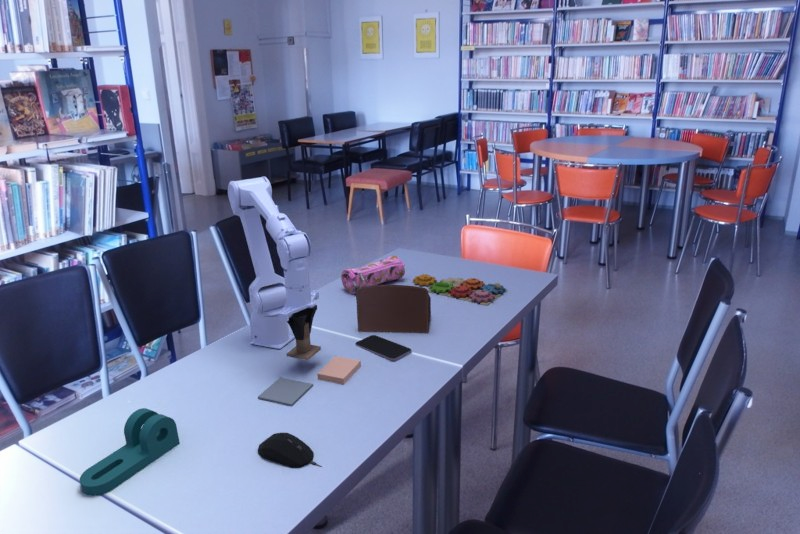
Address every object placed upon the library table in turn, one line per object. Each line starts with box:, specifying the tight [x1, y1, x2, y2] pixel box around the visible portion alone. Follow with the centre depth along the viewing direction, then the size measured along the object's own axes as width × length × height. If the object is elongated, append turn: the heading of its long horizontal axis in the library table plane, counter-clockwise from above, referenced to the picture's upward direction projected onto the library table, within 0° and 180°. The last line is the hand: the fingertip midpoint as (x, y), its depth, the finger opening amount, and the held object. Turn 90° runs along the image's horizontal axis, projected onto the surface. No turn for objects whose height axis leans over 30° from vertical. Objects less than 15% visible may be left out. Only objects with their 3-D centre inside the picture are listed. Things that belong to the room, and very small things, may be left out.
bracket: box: [79, 407, 181, 497], centre depth 109 cm, size 18×7×8 cm, turn 150°
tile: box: [316, 355, 362, 385], centre depth 140 cm, size 2×9×7 cm
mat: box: [257, 376, 314, 407], centre depth 133 cm, size 9×9×1 cm
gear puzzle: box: [412, 273, 508, 307], centre depth 189 cm, size 31×16×4 cm, turn 55°
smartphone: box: [355, 334, 412, 362], centre depth 152 cm, size 7×1×15 cm
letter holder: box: [355, 284, 432, 334], centre depth 162 cm, size 10×20×14 cm, turn 84°
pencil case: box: [340, 254, 406, 295], centre depth 192 cm, size 21×9×9 cm, turn 129°
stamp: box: [286, 322, 322, 361], centre depth 141 cm, size 6×6×8 cm
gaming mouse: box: [257, 432, 323, 469], centre depth 111 cm, size 6×15×4 cm, turn 61°
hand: (302, 336), depth 141 cm, fingers closed on stamp, 2 cm apart
